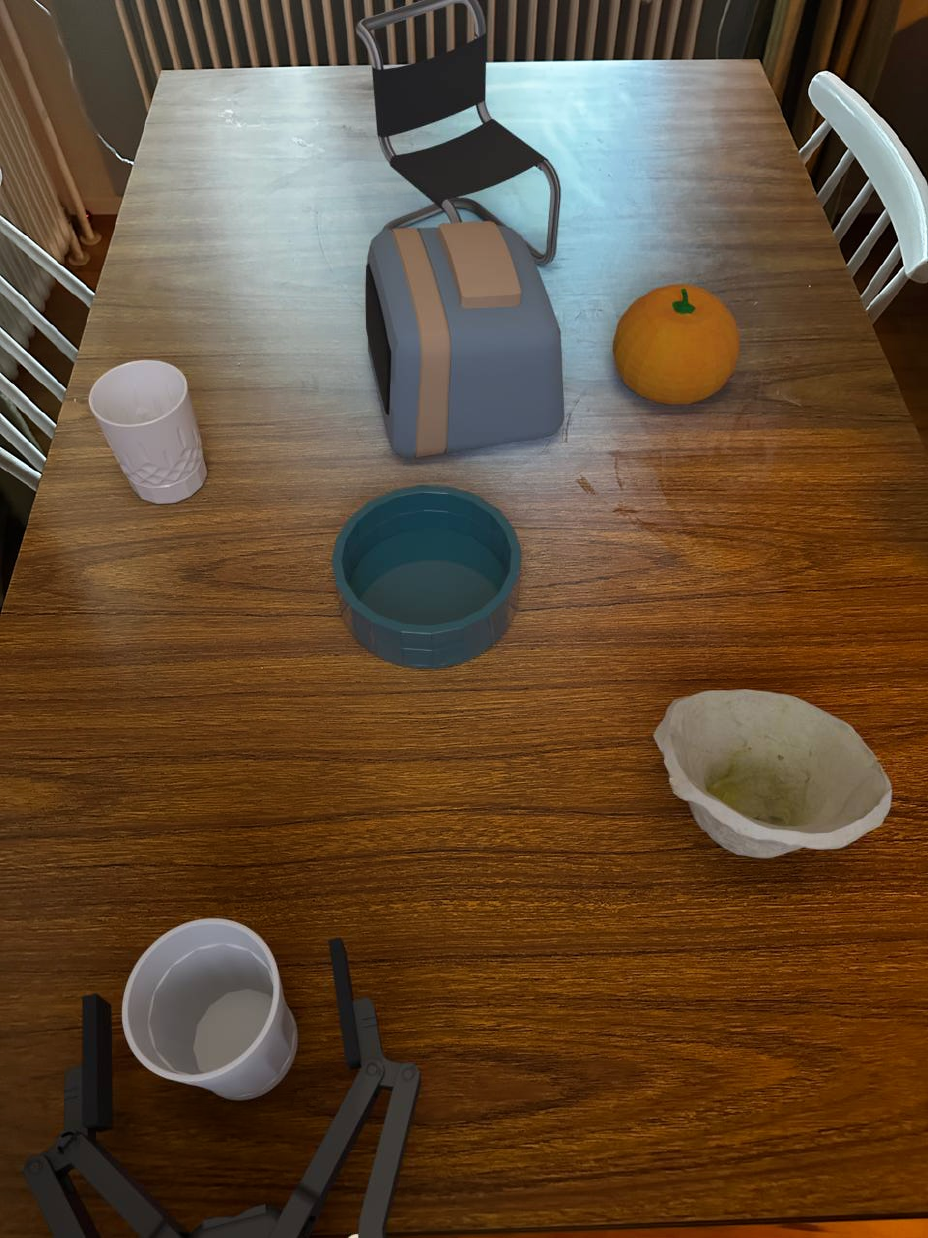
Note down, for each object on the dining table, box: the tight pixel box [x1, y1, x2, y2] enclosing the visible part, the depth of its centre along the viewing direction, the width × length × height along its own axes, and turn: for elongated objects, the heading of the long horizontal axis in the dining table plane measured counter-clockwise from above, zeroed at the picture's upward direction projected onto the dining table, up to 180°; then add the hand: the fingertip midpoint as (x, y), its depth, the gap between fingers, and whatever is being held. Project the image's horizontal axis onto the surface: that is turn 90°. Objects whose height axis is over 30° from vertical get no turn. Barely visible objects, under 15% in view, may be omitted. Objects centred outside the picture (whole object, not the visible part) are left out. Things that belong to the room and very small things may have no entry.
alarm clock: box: [364, 220, 565, 459], centre depth 85 cm, size 16×16×16 cm
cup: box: [121, 917, 299, 1101], centre depth 54 cm, size 8×8×12 cm
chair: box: [355, 0, 562, 266], centre depth 95 cm, size 13×17×22 cm
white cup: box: [88, 359, 208, 505], centre depth 81 cm, size 8×8×10 cm
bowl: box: [653, 688, 893, 859], centre depth 63 cm, size 15×14×10 cm
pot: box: [331, 484, 522, 670], centre depth 76 cm, size 15×15×5 cm
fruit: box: [611, 283, 741, 406], centre depth 88 cm, size 12×12×10 cm
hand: (219, 971), depth 54 cm, fingers open, 13 cm apart
